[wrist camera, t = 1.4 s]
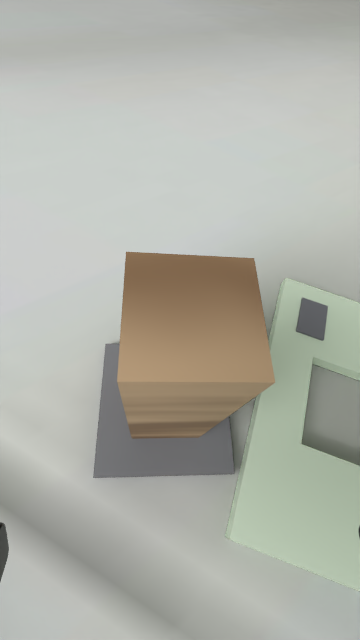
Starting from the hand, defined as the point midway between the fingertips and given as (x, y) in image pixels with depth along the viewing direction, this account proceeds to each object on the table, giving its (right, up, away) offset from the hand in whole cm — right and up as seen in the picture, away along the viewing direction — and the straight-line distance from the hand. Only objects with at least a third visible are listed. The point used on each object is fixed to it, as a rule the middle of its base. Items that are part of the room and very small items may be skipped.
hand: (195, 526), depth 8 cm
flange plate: (+11, -1, +13) cm, 17 cm away
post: (-1, 0, +12) cm, 12 cm away
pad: (-1, 0, +12) cm, 12 cm away
